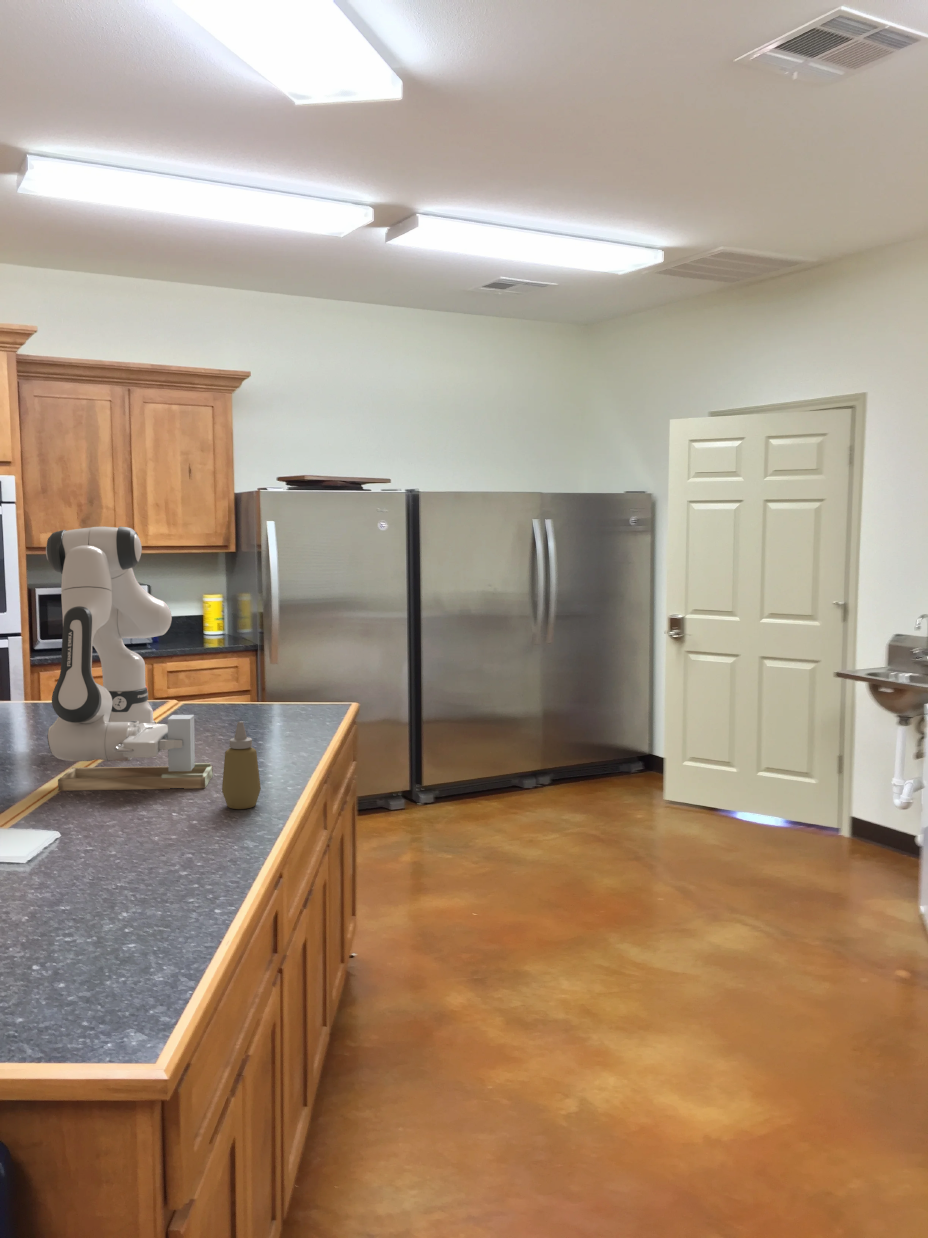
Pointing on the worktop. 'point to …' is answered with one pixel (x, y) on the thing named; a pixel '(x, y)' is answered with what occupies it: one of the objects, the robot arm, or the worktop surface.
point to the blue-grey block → (186, 754)
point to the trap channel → (134, 778)
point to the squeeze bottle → (241, 772)
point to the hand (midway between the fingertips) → (185, 740)
